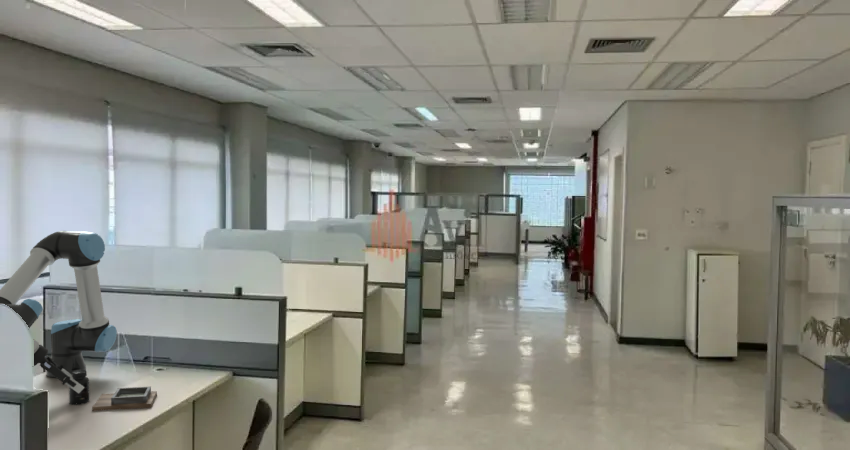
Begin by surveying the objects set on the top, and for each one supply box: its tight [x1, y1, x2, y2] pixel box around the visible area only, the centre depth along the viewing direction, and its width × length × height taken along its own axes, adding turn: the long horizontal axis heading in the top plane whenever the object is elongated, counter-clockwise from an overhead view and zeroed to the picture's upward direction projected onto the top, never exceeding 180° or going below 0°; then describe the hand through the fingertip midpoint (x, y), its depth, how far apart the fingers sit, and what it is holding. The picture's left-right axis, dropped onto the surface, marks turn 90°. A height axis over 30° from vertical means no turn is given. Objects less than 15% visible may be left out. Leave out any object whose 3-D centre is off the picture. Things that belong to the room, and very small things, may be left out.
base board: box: [91, 386, 158, 412], centre depth 239 cm, size 15×20×4 cm
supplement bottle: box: [68, 369, 90, 406], centre depth 237 cm, size 7×7×12 cm
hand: (77, 385), depth 236 cm, fingers open, 13 cm apart
